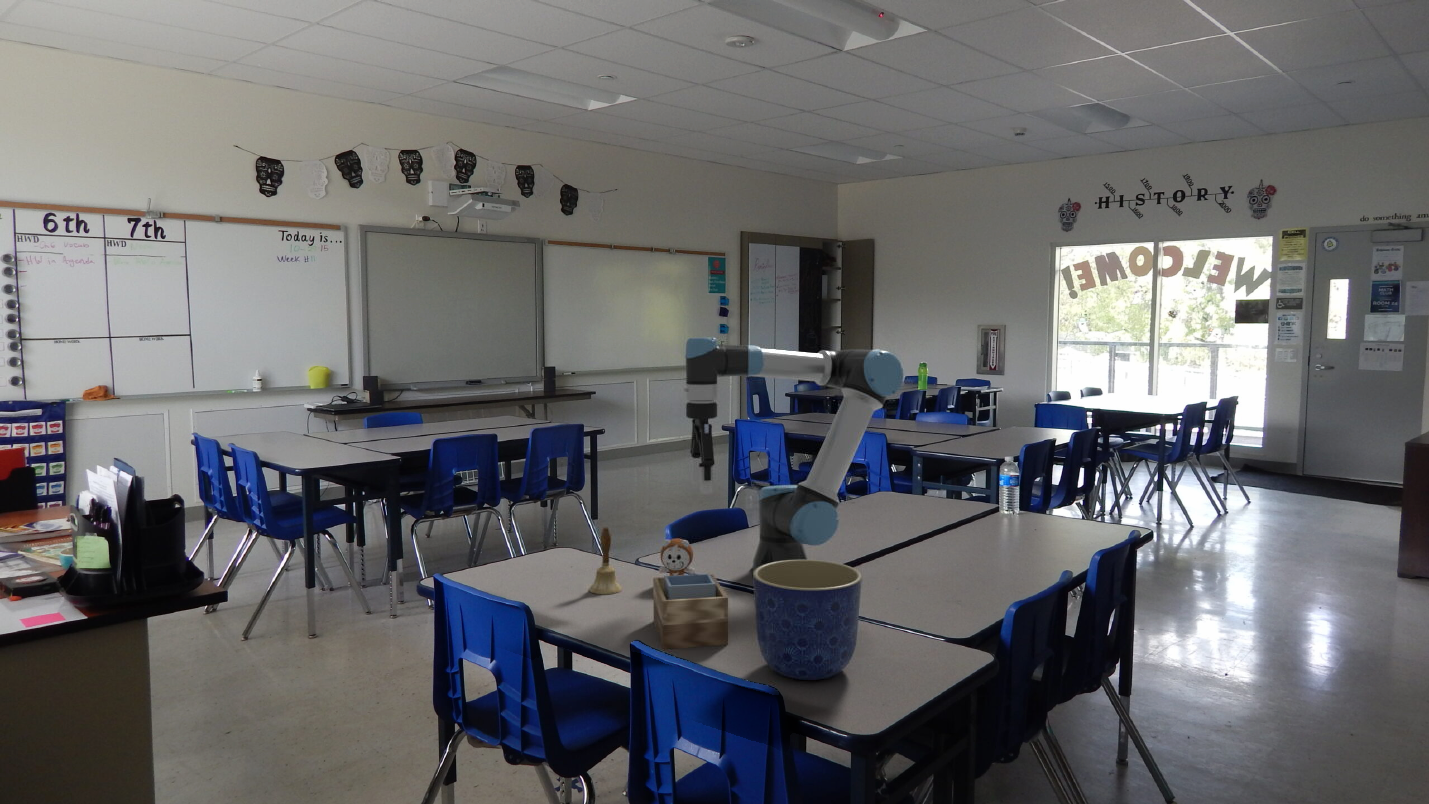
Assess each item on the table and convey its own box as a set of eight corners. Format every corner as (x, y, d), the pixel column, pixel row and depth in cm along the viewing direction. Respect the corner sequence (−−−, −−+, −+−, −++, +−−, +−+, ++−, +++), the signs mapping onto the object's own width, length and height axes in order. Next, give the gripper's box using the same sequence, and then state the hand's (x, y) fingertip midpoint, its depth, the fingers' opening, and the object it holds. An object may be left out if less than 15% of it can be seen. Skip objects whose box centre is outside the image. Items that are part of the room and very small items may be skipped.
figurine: (655, 590, 223) (655, 543, 222) (661, 580, 232) (661, 535, 231) (692, 591, 222) (691, 544, 221) (696, 581, 231) (696, 536, 230)
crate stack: (713, 617, 202) (713, 574, 201) (728, 644, 185) (728, 597, 184) (653, 621, 200) (653, 577, 199) (663, 648, 183) (662, 601, 182)
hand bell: (625, 585, 228) (624, 524, 226) (618, 595, 219) (617, 531, 218) (593, 584, 228) (592, 523, 227) (585, 594, 220) (584, 530, 219)
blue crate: (709, 600, 197) (709, 573, 196) (715, 611, 189) (715, 583, 189) (664, 602, 195) (664, 576, 195) (668, 614, 187) (668, 586, 187)
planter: (883, 674, 169) (884, 576, 167) (801, 701, 157) (801, 596, 155) (811, 643, 186) (811, 554, 184) (731, 665, 174) (731, 569, 172)
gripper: (679, 397, 226) (679, 480, 228) (694, 406, 201) (694, 498, 203) (708, 397, 227) (708, 479, 229) (726, 405, 203) (727, 497, 204)
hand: (701, 488), depth 216 cm, fingers open, 13 cm apart
